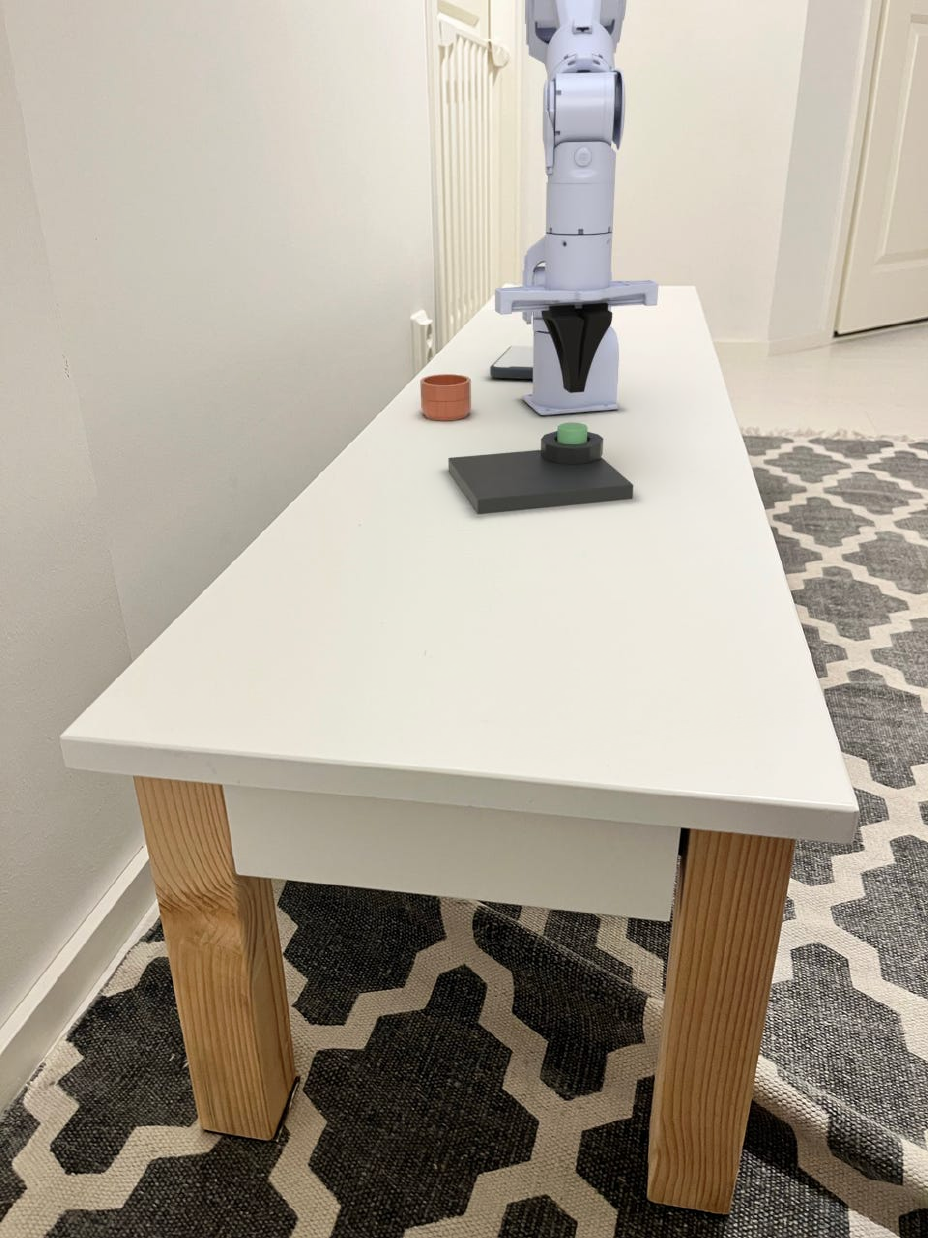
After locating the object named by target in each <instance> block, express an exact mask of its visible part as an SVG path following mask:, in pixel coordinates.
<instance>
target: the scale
mask: <svg viewBox="0 0 928 1238" xmlns="http://www.w3.org/2000/svg"><path fill="white" fill-rule="evenodd" d="M557 433H558V430H555V431H552V432H549V433H546V434H544V435H543V436H542V437H541V438H540V449H534V450H533V449H532V450H523V451H521V450H520V451H510V452H501V453H500V452H499V453H488V454H478V455H465V456H455V457H448V459H447V461H448V462H447V463H448V472H449V474H450V476H451V477H452V479H454V482H455V483H456V484H457V486H458V487H459V489H460V490H461V492H462V493H463V495H464V496H465V498H466V499H467V500H468V502H469V503H470V505H471V507H472V508H473V510H474V511H475V512H476V514H477V515H485V514H494V513H504V512H516V511H523V510H524V511H525V510H534V509H543V508H545V509H546V508H555V507H565V506H575V505H585V504H595V503H604V502H605V503H606V502H615V501H623V500H624V501H625V500H633V497H634V495H633V494H634V484H633V483H632V482H631V481H630V480H628V479H627V478H626V477H625V476H624V475H623V474H622V473H621V472H619V471H618V470H617V469H615V468H614V467H613V466H612V465H611V464H610V463H609V462H608V461H606V460H605V459H604V458H603V454H604V437H602V436H601V435H600V434H598V433H594V432H590V431H587V442H586V443H583V444H563V443H559V442H557Z"/></svg>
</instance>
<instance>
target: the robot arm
mask: <svg viewBox="0 0 928 1238" xmlns="http://www.w3.org/2000/svg"><path fill="white" fill-rule="evenodd" d="M627 1H628V0H524V24H525V44H526V45H527V47H528V56H530V57H531V58H532V59H535V60H537V61H539V62H541V63H542V64H543V65H544V67H545V72H546V75H547V78H546V79H547V80H544V84H543V89H542V142H543V149H544V161H545V162H544V163H545V164H544V165H545V167H544V168H545V169H544V170H545V174H546V176H547V181H546V195H545V196H546V200H545V235H544V236H543V237H541V238H540V239H539V240H538V241H536V242H535V243H534V244H533V245H531V246H530V247H529V248H528V249H527V250H526V254H525V255H524V256H523V270H522V285H520V286H510V287H498V288H494V311H495V312H496V313H497V314H499V315H502V316H503V315H512V313H521V314H522V315H521V317H522V320H523V321H524V322H525V324H526V325H532V331H533V335H532V336H533V337H532V338H533V340H532V342H533V343H532V346H533V379H532V393H529V394H522V395H521V399H522V400H523V402H525V403H526V404H527V405H528V406H530V407H531V408H532V409H533V410H534V412H536V413H537V414H538V415H540V416H549V415H562V414H573V413H584V412H585V413H587V412H599V411H609V410H610V411H611V410H618V409H619V406H620V405H619V404H618V403H617V400H618V384H619V383H618V382H619V381H618V379H619V366H620V365H619V363H620V346H619V345H620V344H619V340H618V336H617V332H616V331H615V328H614V327H613V326H611V325H612V322H613V312H612V307H628V306H629V307H630V306H645V307H652V306H658V298H659V297H658V295H659V282H656V281H653V280H650V279H648V280H647V279H645V280H613V273H612V272H613V271H612V252H613V251H612V249H613V231H614V230H613V227H614V207H615V188H616V166H617V165H616V164H617V153H616V151H615V149H613V148H612V143H613V144H614V145H615V147H616V150H618V151H619V150H620V148H621V144H622V140H623V136H624V131H625V130H624V129H625V121H626V120H625V118H626V86H625V85H626V84H625V77H624V72H623V69H621V68H616V64H615V54H616V53H617V48H618V44H619V42H620V41H621V36H622V30H623V29H622V28H623V23H624V20H625V17H626V10H627ZM541 264H544V266H543V265H542V266H541Z"/></svg>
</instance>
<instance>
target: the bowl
mask: <svg viewBox="0 0 928 1238" xmlns="http://www.w3.org/2000/svg"><path fill="white" fill-rule="evenodd" d="M419 385H420V386H419V387H420V407H421V413H422V414H423V415H424V416H425V418H427V419H429V420H434V421H447V422H448V421H457V420H461V419H464V418H466V417H468V415H469V413H470V412H471V411H472V381H471V378H470V377H469V376H466V375H462V374H455V373H454V374H453V373H452V374H451V373H445V374H443V373H442V374H433V375H427V376H425V377H422V378H421V379H420V381H419Z"/></svg>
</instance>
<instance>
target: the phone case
mask: <svg viewBox="0 0 928 1238" xmlns="http://www.w3.org/2000/svg"><path fill="white" fill-rule="evenodd" d="M489 367H490V368H489V372H490V373H489V376H490V377H492V378H496V379H520V380H521V379H522V380H523V379H524V380H525V379H526V380H533V345H512V346H510V347H508V348H507V349H506V350H505V352H503V353H502V354H501V356H500V357H498V358H497V359H496V360H495V361H494V363H493V364H492V365H490V366H489Z"/></svg>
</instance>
